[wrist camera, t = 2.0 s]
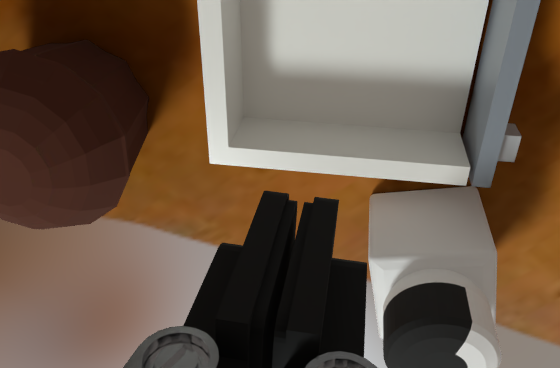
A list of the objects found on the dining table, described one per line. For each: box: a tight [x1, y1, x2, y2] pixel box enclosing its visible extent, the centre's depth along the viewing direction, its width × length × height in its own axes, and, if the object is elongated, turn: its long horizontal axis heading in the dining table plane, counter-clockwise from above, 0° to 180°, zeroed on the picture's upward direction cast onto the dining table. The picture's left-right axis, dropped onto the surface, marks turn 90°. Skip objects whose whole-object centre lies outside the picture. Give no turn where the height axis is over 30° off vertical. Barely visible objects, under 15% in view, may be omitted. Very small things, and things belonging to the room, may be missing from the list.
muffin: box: [0, 40, 149, 229], centre depth 31 cm, size 12×11×10 cm
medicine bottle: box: [368, 186, 501, 368], centre depth 32 cm, size 7×7×12 cm
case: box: [197, 0, 489, 186], centre depth 27 cm, size 18×15×5 cm
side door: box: [462, 0, 541, 188], centre depth 25 cm, size 19×2×5 cm, turn 0°
